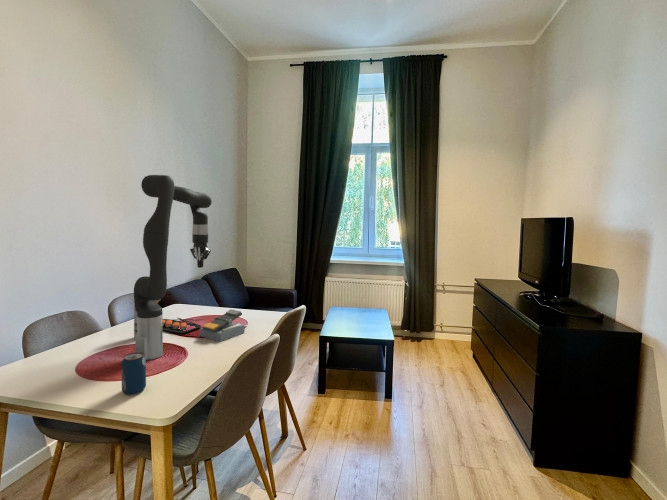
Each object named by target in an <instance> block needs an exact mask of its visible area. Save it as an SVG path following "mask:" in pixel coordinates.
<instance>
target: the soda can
mask: <svg viewBox="0 0 667 500" xmlns="http://www.w3.org/2000/svg"><path fill="white" fill-rule="evenodd" d="M146 361H147V360H146V359H145V357H144V354H143V353H135V352H131V353H128V354H125V355H124V356H123V358H122V361H121V368H120V369H121V391H122V392H123V393H124V395H126V396H134V395H138V394H141V393H142V392H144V390H145V388H146V387H147V369H146V368H147V362H146Z"/></svg>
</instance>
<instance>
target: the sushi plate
mask: <svg viewBox="0 0 667 500" xmlns="http://www.w3.org/2000/svg"><path fill="white" fill-rule="evenodd" d="M162 319H163V331H165V332H171V333H177V334H186V333H189V332H192V331H194V330H197V329H200V328H202V325H201V324H197V323H195V322H192V321H194V320H193V319H194V318H192V319H191V318H185V319H183V318H182V317H181V318H180V317H177V319H171V318H170V319H169V318H162ZM183 320H185V321H183ZM179 325H180V329H181V330H180V329H178V328H179ZM187 325H190V326H195V327H196V328H194V329H191V330H188V331H187V330H186V328H187ZM183 330H186V331H183Z"/></svg>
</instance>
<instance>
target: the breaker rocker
mask: <svg viewBox="0 0 667 500" xmlns="http://www.w3.org/2000/svg"><path fill="white" fill-rule="evenodd" d="M241 316H243V313H242V311H241V310H235V309H228V310H227V311H225V313H224V314H222V315H220V316H218V318H216V319H215V320H214V319H213V320H212V321H211V322H207V323H205V324H204V325H202V326H201V328H203V330H206V331H211V332H216V331H218V330H219V329H221V328H222V327H224V326H225V325H227V324H228V320H230V319H231V320H232V322H234V321H235V320H236V319H238V318H239V317H241Z"/></svg>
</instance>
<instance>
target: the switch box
mask: <svg viewBox="0 0 667 500" xmlns="http://www.w3.org/2000/svg"><path fill="white" fill-rule="evenodd" d="M216 318H219V316H214V317H213V321H214V320H215V319H216ZM237 324H238V323H237V322H234V321H232V320H231V319H230V320H228V324H227V325H225V326H224V327H222V328H221V329H219V330H218V331H216V332H211V331H206V330H203V328H202V327H200V328H199V329H200V330H199V336H200V337H202V338H205V339H210V340H213V341H217V342H224V341H226V340H228V339H231V338H235V337H236V336H240V335H242V334H244V333H245V330H246V329H245V328H246V327H245V326H246V325H245V324H241V323H240V324H241V326H238V327H235V328H232V329H230V330H227V331H224V332H223V331H222V329H225V328H228V327H231V326H234V325H237Z"/></svg>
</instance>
